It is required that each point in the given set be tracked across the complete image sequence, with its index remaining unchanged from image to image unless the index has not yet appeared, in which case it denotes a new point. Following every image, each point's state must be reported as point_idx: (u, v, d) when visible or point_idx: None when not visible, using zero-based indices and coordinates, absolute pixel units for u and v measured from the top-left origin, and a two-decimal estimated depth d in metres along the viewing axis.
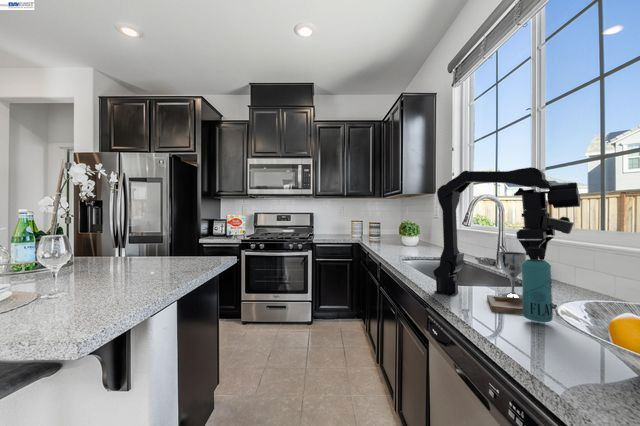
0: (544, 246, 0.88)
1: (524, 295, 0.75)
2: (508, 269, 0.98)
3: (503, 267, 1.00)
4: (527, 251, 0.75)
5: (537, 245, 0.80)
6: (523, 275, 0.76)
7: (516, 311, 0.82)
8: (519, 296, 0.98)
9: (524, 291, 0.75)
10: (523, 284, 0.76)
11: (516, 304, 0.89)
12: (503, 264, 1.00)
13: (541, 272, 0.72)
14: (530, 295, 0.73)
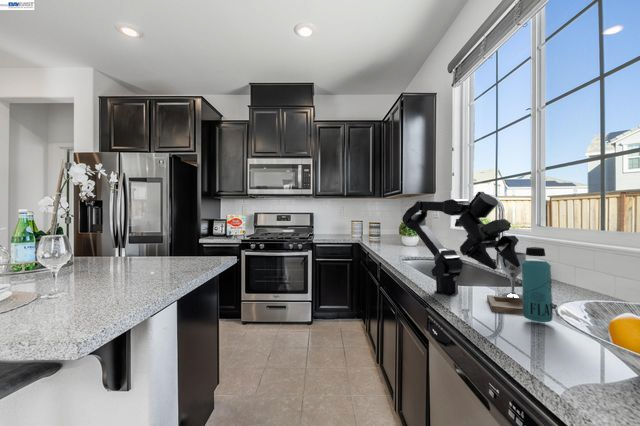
0: (511, 253, 0.87)
1: (524, 295, 0.75)
2: (508, 269, 0.98)
3: (503, 267, 1.00)
4: (527, 251, 0.75)
5: (481, 251, 0.84)
6: (523, 275, 0.76)
7: (516, 311, 0.82)
8: (519, 296, 0.98)
9: (524, 291, 0.75)
10: (523, 284, 0.76)
11: (516, 304, 0.89)
12: (503, 264, 1.00)
13: (541, 272, 0.72)
14: (530, 295, 0.73)
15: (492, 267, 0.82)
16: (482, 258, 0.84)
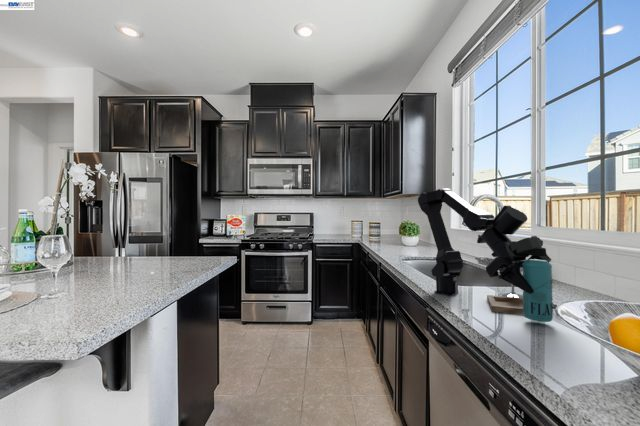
0: None
1: (524, 295, 0.75)
2: None
3: None
4: (528, 251, 0.75)
5: (515, 273, 0.75)
6: (524, 275, 0.75)
7: (516, 311, 0.82)
8: (519, 296, 0.98)
9: (525, 291, 0.75)
10: None
11: (516, 304, 0.89)
12: None
13: (542, 272, 0.72)
14: (530, 295, 0.73)
15: (528, 291, 0.73)
16: (516, 280, 0.76)
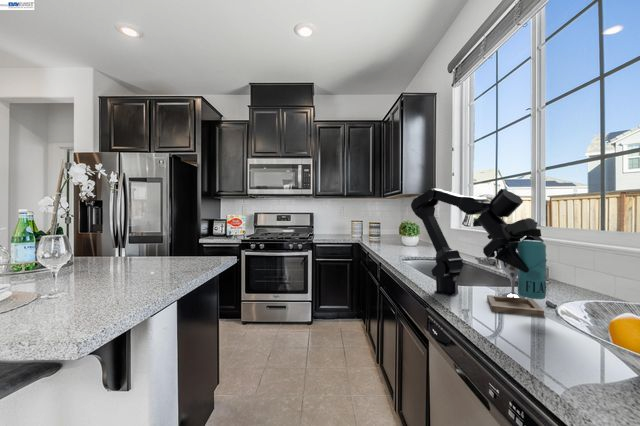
0: None
1: (520, 274, 0.78)
2: (508, 269, 0.98)
3: (503, 267, 1.00)
4: (524, 232, 0.78)
5: (511, 253, 0.78)
6: (519, 255, 0.78)
7: (516, 311, 0.82)
8: (519, 296, 0.98)
9: (520, 270, 0.78)
10: None
11: (516, 304, 0.89)
12: (503, 264, 1.00)
13: (537, 252, 0.75)
14: (526, 273, 0.76)
15: (524, 270, 0.76)
16: (512, 260, 0.78)
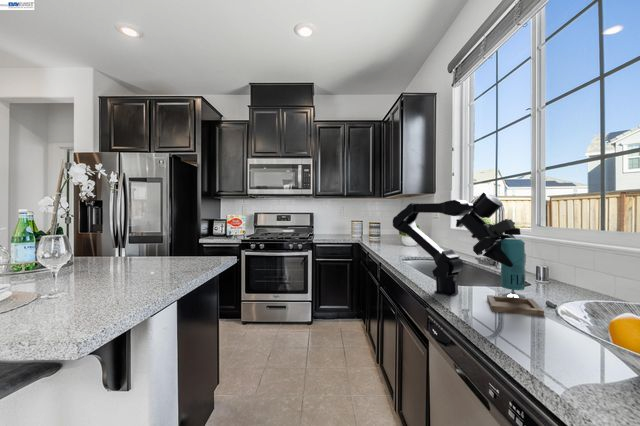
0: None
1: (504, 269, 0.87)
2: None
3: None
4: (507, 231, 0.88)
5: (498, 250, 0.86)
6: (503, 251, 0.88)
7: (516, 311, 0.82)
8: (519, 296, 0.98)
9: (504, 265, 0.87)
10: None
11: (516, 304, 0.89)
12: None
13: (519, 248, 0.85)
14: (510, 268, 0.86)
15: (509, 265, 0.85)
16: (498, 257, 0.87)
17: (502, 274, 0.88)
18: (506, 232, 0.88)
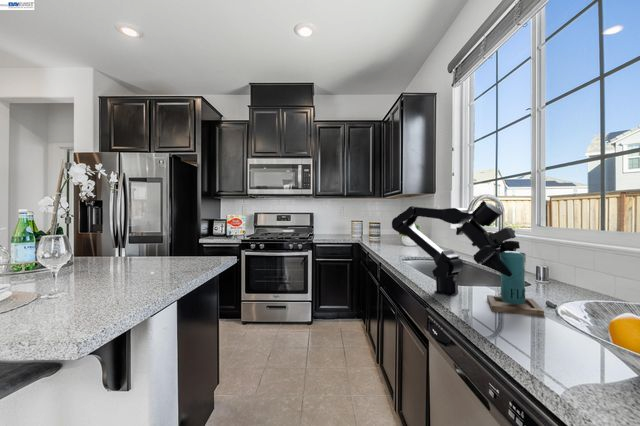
0: None
1: (504, 282, 0.87)
2: None
3: None
4: (506, 244, 0.87)
5: (496, 259, 0.86)
6: None
7: (516, 311, 0.82)
8: None
9: (504, 279, 0.87)
10: None
11: (516, 304, 0.89)
12: None
13: (519, 262, 0.85)
14: (510, 282, 0.86)
15: (507, 274, 0.85)
16: (497, 266, 0.86)
17: (502, 288, 0.88)
18: (505, 246, 0.88)
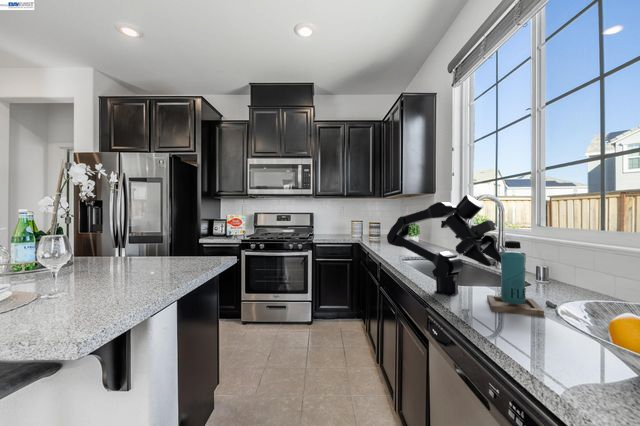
0: (495, 250, 0.96)
1: (505, 282, 0.87)
2: None
3: None
4: (507, 244, 0.88)
5: (477, 250, 0.90)
6: (504, 265, 0.88)
7: (516, 311, 0.82)
8: None
9: (505, 279, 0.87)
10: (503, 273, 0.88)
11: (516, 304, 0.89)
12: None
13: (520, 262, 0.85)
14: (510, 282, 0.86)
15: (487, 264, 0.89)
16: (477, 256, 0.91)
17: (502, 287, 0.88)
18: (506, 245, 0.88)
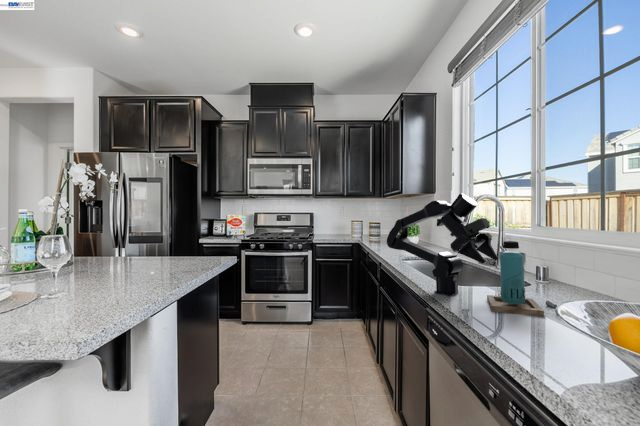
0: (489, 248, 0.98)
1: (504, 282, 0.87)
2: None
3: None
4: (505, 244, 0.88)
5: (471, 247, 0.92)
6: (503, 265, 0.88)
7: (516, 311, 0.82)
8: None
9: (504, 279, 0.87)
10: (502, 273, 0.88)
11: (516, 304, 0.89)
12: None
13: (518, 262, 0.85)
14: (510, 282, 0.86)
15: (481, 261, 0.91)
16: (471, 253, 0.92)
17: (502, 288, 0.88)
18: (505, 246, 0.88)
